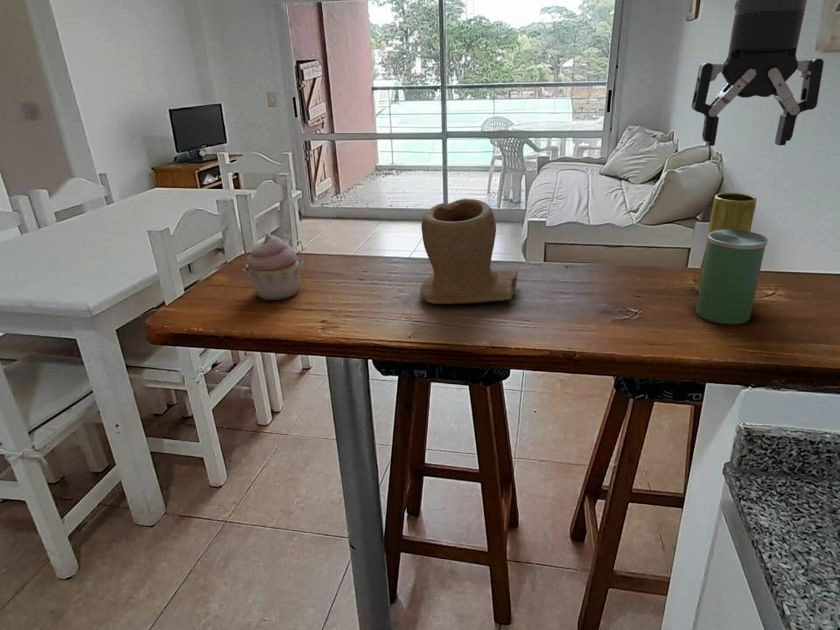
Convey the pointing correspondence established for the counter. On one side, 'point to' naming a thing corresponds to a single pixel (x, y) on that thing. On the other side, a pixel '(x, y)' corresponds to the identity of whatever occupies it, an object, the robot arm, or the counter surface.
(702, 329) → the counter surface
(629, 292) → the counter surface
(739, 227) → the vase
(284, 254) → the cupcake
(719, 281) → the green can
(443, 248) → the stone cup
